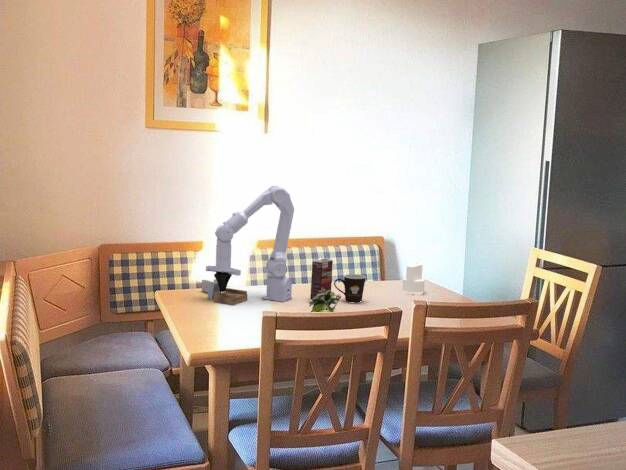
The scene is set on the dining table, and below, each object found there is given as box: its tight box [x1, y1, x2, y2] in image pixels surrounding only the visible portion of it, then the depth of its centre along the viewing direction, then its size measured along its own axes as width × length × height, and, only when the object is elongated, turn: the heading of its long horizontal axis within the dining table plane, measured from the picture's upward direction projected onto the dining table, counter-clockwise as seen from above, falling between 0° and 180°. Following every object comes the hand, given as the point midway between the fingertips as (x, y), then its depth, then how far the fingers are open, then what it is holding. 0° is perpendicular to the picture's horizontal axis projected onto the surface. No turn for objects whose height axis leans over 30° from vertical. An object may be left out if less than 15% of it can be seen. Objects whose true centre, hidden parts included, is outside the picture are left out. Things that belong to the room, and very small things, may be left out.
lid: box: [207, 281, 220, 301], centre depth 266 cm, size 6×5×2 cm
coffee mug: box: [333, 273, 366, 303], centre depth 271 cm, size 12×9×10 cm
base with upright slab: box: [402, 263, 425, 292], centre depth 290 cm, size 9×9×12 cm
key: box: [201, 278, 217, 294], centre depth 273 cm, size 11×2×6 cm, turn 50°
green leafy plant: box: [308, 289, 342, 313], centre depth 248 cm, size 11×11×12 cm
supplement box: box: [309, 258, 334, 301], centre depth 270 cm, size 9×5×16 cm, turn 148°
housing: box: [212, 287, 249, 306], centre depth 263 cm, size 9×10×4 cm
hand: (222, 291), depth 264 cm, fingers closed
